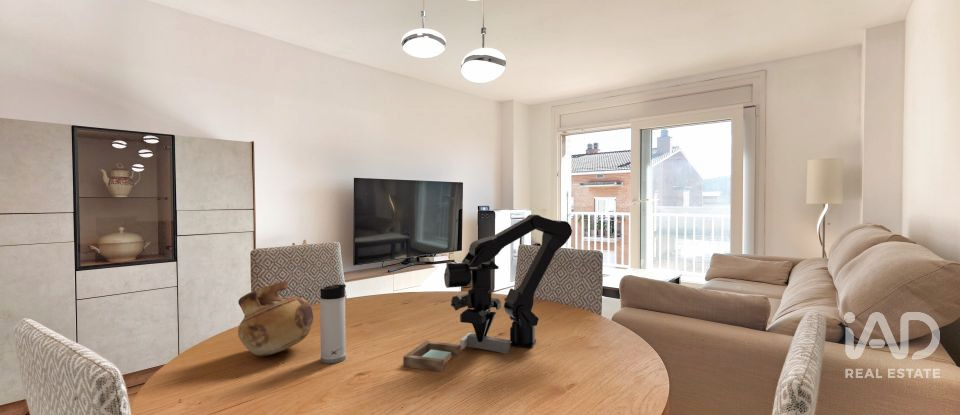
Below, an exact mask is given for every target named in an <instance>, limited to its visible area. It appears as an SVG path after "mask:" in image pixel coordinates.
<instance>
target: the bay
mask: <svg viewBox="0 0 960 415" xmlns="http://www.w3.org/2000/svg"><path fill="white" fill-rule="evenodd" d="M461 349H462V348H461V345H460V343H448V342H439V341H429V340H425V341H424V342H422V343H421V344H420V345H418V346H416V347H415V348H414V349H412V350H411V351H410V352H408V353H406V354H405V355H404V356H402V357H403V360H402V362H403V365H402V366H403V367H404V368H405V367H406V368H412V369H413V368H414V369H419V370H420V369H421V370H427V371H435V372H442V371H444V369H445V367H444V366H445V364H444V359H437V358H429V357H422V356H423V355H424V354H426V353H427V352H428V351H430V350H438V351H446V352H451V356H460V355H461V354H462V352H461Z"/></svg>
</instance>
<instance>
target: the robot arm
mask: <svg viewBox="0 0 960 415" xmlns="http://www.w3.org/2000/svg"><path fill="white" fill-rule="evenodd" d="M534 230H537V231H538V232H539V231H540V232H541V233H542V234H541V235H542V236H541V244H540V247H539V249H538V251H537V253H536V255H535V256H534V258H533V260H532V262H531V264H530V265H529V268H528V270H527V271H526V273H525V275H524V278H523V279H522V281H521V283H520V285H519V286H518V287H517V288H515V289H514V288H509V290H508V293H507V295H506V297H505V298H504V299H503V301H504V304H503V308H504V312H505V313H506V314H507V315H508V316H509V319H510V320H511V321H512V322H511V326H510V328H509V340H510V347H511V346H512V347H521V348H530V349H532V348H533V347H534V346H535V344H536V343H537V339H536V326H537V325H538V323H539V317H538V316H537V315H536V314H535V313H534V312H532V311H533V310H532V309H533V306H534V302H535V300H534V299H535V298H534V297H535V293H536V291H537V288H538V287H539V285H540V283H541V281H542V280H543V277H544V275H545V274H546V272H547V271H548V270H547V269H548V268H549V266H550V264H551V262H552V261H553V258H554V256H555V254H556V252H557V251H559V249H560V248H562V247H563V246H564V245H565V244H566V243H567V242H568V240H569V239H570V237H571V236H572V234H573V229H572V226H571V224H570V223H569V221H566V220H556V219H549V218H546V217H543V216H541V215H539V214H529V215H527V216H526V217H525V218H523V219H522V220H519V221H518V222H516V223H514V224H512V225H511V226H509V227H507V228H505V229H503V230H501V231H499V232H498V233H496V234H494V235H490V236H487V237H483V238H480V239H476V240H474V241H473V242H471V243H470V244H469V248H468V252H467V254H466V255H465V256H464V258H463V260H462V261H461V262H446V263H445V264H446V266H445V269H444V274H443V279H444V286H445V288H446V289H448V288H451V289H452V288H462V287H463V288H464V287H468V285H470V286H471V288H470V289H469V290H468V291H467V293H465V294H461V295H460V294H457V295H454V296H451V301H450V306H451V307H453V308H454V311H459V309H463V308H466V307H467V308H466V309H465V310H464V311H462V312H461V313H460V314H459V322H460V323H466V324H472V327H473V330H474V332H475V333H474V334H476V337H477V340H478V342H482V340H483V337H484V336H487V335H488V333H489V331H490V329H491V326H492V324H493V321H494V318H495V316H496V315H497V312H496V311H499V310H500V309H501V307H502V305H501V304H502V302H501V300H500V299H499V298H497V297H496V298H493V296H492V293H494V290H495V289H494V287H492V270H498V269H500V268H499V265H497V264H496V263H495V262H494V260H493V259H494V258H495V257H496V256H498V254H500V252H502V250H503V249H504V248H505V247H507V246H508V245H510V244H512V243H514V242H516V241H518V240H519V239H520V238H522V237H524V236H526V235H527V234H529V233H531V232H533V231H534ZM491 308H495V309H496V311H492V309H491Z"/></svg>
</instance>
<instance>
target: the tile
mask: <svg viewBox="0 0 960 415" xmlns="http://www.w3.org/2000/svg"><path fill="white" fill-rule="evenodd" d="M422 357H429V358H437V359H444V365H445V364H446V363H447V362H448V361H450V360H451V359H452V355H451V352H446V351H438V350H430V351H428V352H427V353H426V354H424V355H423V356H422Z"/></svg>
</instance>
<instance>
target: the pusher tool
mask: <svg viewBox="0 0 960 415" xmlns="http://www.w3.org/2000/svg"><path fill="white" fill-rule="evenodd" d="M510 343H511V341H510V339H506V338H505V339H504V338H500V337H493V336H484V337H483V340H482V342H478V340H477V337H476V333H473V332H468V333H466V334H465V335H464V336H463V337H461V338H460V342H459V345H461V349H463V350H465V348H466V347H469V348H475V349H480V350H486V351H490V352H491V351H492V352H497V353H502V354H509V352H510V351H511V345H510Z"/></svg>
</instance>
